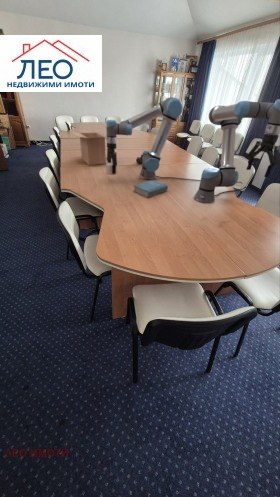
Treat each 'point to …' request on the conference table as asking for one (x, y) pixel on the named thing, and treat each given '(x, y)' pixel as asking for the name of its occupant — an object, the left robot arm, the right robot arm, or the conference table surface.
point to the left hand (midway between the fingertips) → (111, 171)
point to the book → (150, 188)
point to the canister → (110, 168)
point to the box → (92, 146)
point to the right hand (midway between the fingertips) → (256, 173)
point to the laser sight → (139, 159)
